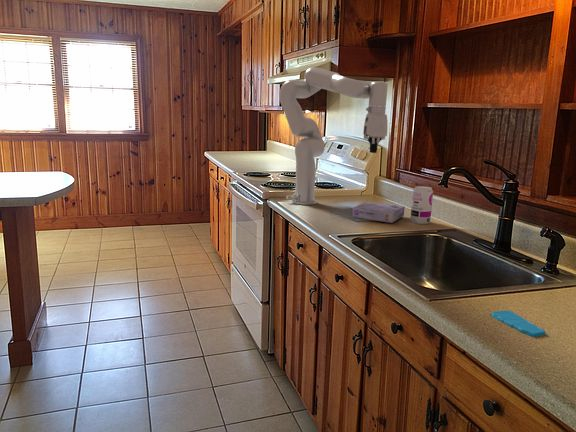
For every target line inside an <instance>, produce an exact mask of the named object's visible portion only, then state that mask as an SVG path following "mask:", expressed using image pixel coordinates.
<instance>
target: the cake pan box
mask: <svg viewBox="0 0 576 432" xmlns="http://www.w3.org/2000/svg"><path fill="white" fill-rule="evenodd" d="M352 209H353V216H352V217H356V218H362V219H369V220H375V221H377V222H381V223H382V222H384V223H390V224H393V223H395V222H396V221H397V220H399V219H401V218H402V217H404V215H405V206H403V205H398V204H397V205H396V204H390V203H383V202H381V203H380V202H373V201H366V202H363V203H361V204H358V205H356V206H353V207H352Z"/></svg>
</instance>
